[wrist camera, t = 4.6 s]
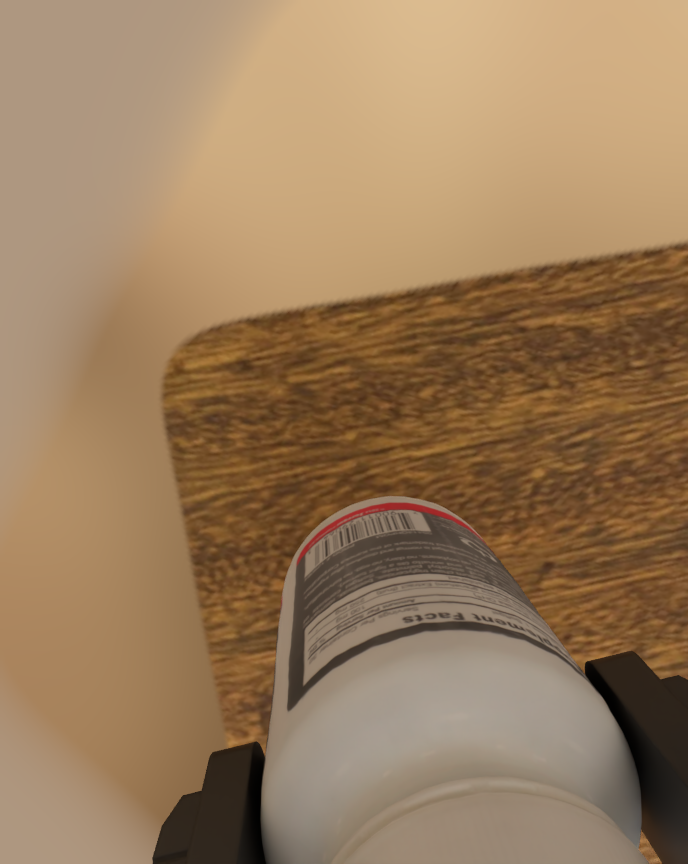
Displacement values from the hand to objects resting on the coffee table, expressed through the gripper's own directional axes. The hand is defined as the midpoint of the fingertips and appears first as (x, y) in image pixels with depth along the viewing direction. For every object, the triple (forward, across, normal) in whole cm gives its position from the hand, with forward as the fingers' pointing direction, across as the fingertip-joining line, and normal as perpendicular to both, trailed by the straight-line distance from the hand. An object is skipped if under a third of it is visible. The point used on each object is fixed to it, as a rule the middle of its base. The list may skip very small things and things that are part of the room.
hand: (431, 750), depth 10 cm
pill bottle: (+6, 0, 0) cm, 6 cm away
